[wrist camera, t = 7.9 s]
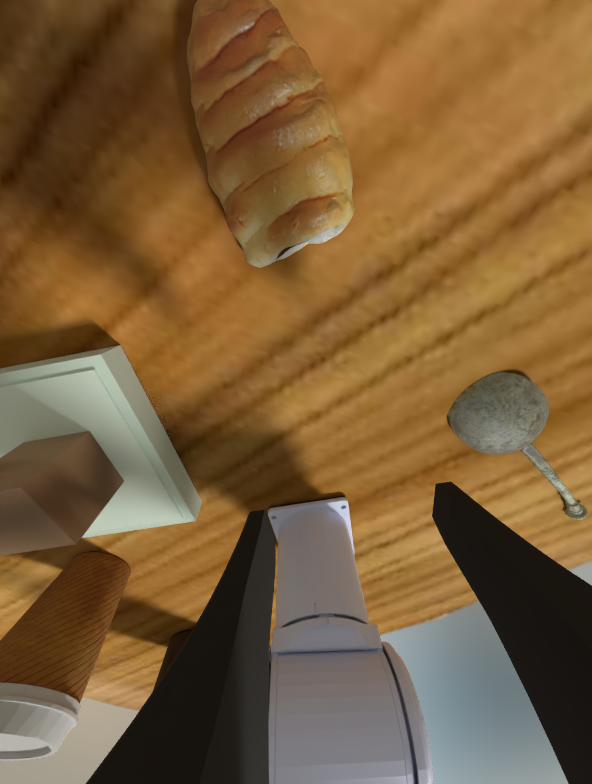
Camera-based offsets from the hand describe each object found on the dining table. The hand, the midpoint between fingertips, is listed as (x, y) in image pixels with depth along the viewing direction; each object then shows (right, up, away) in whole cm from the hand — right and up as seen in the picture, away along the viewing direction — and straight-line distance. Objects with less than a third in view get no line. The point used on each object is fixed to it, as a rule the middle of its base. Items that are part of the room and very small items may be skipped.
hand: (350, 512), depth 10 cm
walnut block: (-19, 0, +8) cm, 21 cm away
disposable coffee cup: (-25, -15, +18) cm, 34 cm away
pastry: (-4, +17, +3) cm, 17 cm away
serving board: (-19, 0, +10) cm, 21 cm away
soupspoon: (+19, -1, +13) cm, 23 cm away
